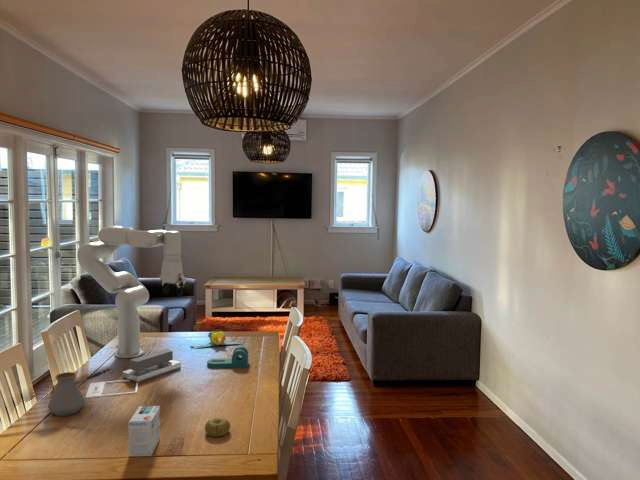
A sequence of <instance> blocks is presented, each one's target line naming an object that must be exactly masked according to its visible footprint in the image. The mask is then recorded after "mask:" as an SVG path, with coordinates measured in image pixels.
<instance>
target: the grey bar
mask: <svg viewBox="0 0 640 480" xmlns="http://www.w3.org/2000/svg"><path fill="white" fill-rule="evenodd" d="M171 360H174V358H173V350H170V349H167V348H165V349H162V350H157V351H155V352H154V351H153V352H152V353H148V354H145V355H141V356H138V357H134V358H130V360H129V369H131V370H134V371H135V373H138V374H140V373H143V372H145V369H146V368H149V367H152V366H155V365H158V364H159V365H162V366H163V365H166V364H169V361H171Z"/></svg>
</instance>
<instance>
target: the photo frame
mask: <svg viewBox="0 0 640 480" xmlns="http://www.w3.org/2000/svg"><path fill="white" fill-rule="evenodd" d="M123 382H125V383H126V382H130V381H129V380H124V379H122V380H121V379H120V380H111V381H98V382H97V381H96V382H91V383H90V384H89V387H88V388H87V392H86V395H85V398H84V399H85V400H86V399H95V398H103V397H113V396H122V395H123V396H124V395H135V394H137V393H138V390H139V389H138V387H139V384H138V383H135V384H136V385H135V389H134V390H135V391H129V392H128V391H127V392H117V393H110V394H109V393H108V394H103V392H104V388H105V385H106V384H113V383H114V384H115V383H123Z"/></svg>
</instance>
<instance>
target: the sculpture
mask: <svg viewBox="0 0 640 480" xmlns="http://www.w3.org/2000/svg"><path fill="white" fill-rule="evenodd" d="M230 429H231V424H230V421H229V420H228V419H226V418H224V417H214V418H213V417H212V418H211V419H209V420H208V421H207V422H206V423H205V424H204V432H205V433H206V434H207V435H208V436H210V437H214V438H216V437H222V436H225V435H226V434H227V433H229V431H230Z"/></svg>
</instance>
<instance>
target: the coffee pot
mask: <svg viewBox="0 0 640 480" xmlns="http://www.w3.org/2000/svg"><path fill="white" fill-rule="evenodd" d="M107 372H109V374H110V375H112V374H113V369H112V368H107V369H103V370H101V371H99V372H96V373H93V374H91V375H89V376H87V377H85V378H83V379H82V378H81V379H80V380H78V381H75V378H76V376H77V374H76V372H72V371H71V372H70V371H69V372H62V373H59V374H56V375H55V379H56V381H57V383H56V385H55V388H54V390H53V392H52V394H51V397H50V400H49V401H48V405H47V408H48V410H49V411H50V412H51V413H52V414H54V415H55V416H59V417H64V416H70V415H74V414H76V413H77V412H79V410H80V409H81V408H83V406H84V404H85V402H86V401H85V400H86V399H85V398H84V396H83V394H82V392H81V390H80V388H79V386H78V384H81V383H83V382H85V381H88V380H91V379H94V378H96V377H100V376H101V375H103V374H106V373H107Z"/></svg>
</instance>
